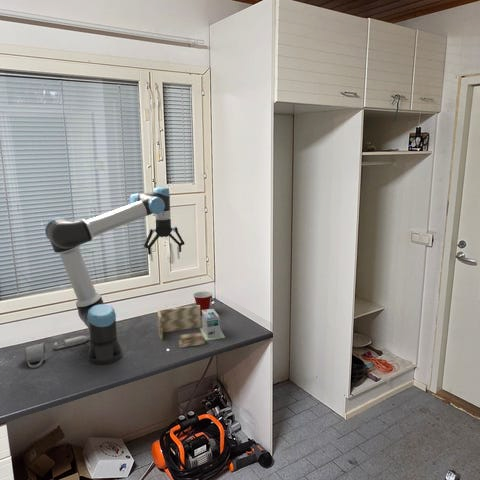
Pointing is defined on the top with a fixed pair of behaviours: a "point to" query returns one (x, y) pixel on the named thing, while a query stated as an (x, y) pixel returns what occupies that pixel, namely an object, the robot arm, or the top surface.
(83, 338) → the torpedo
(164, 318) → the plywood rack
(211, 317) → the light bulb box
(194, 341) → the offcut stack
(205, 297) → the plastic cup
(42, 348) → the ceramic mug
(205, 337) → the mat
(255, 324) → the top surface
